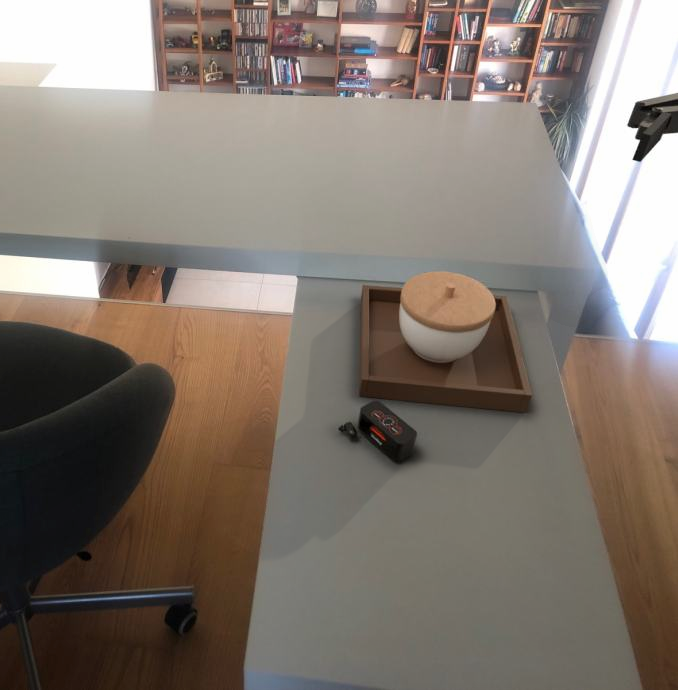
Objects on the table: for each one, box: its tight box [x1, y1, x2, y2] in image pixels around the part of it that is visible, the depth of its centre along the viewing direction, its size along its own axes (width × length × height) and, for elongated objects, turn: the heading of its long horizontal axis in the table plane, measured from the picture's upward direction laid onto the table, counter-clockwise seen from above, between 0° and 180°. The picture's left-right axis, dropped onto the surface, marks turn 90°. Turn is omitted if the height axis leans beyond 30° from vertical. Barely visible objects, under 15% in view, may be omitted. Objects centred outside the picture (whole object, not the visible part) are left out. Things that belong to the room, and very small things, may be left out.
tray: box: [358, 284, 533, 414], centre depth 86 cm, size 19×19×3 cm
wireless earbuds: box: [337, 399, 418, 463], centre depth 74 cm, size 5×7×3 cm, turn 35°
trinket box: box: [399, 270, 496, 363], centre depth 83 cm, size 11×11×9 cm
